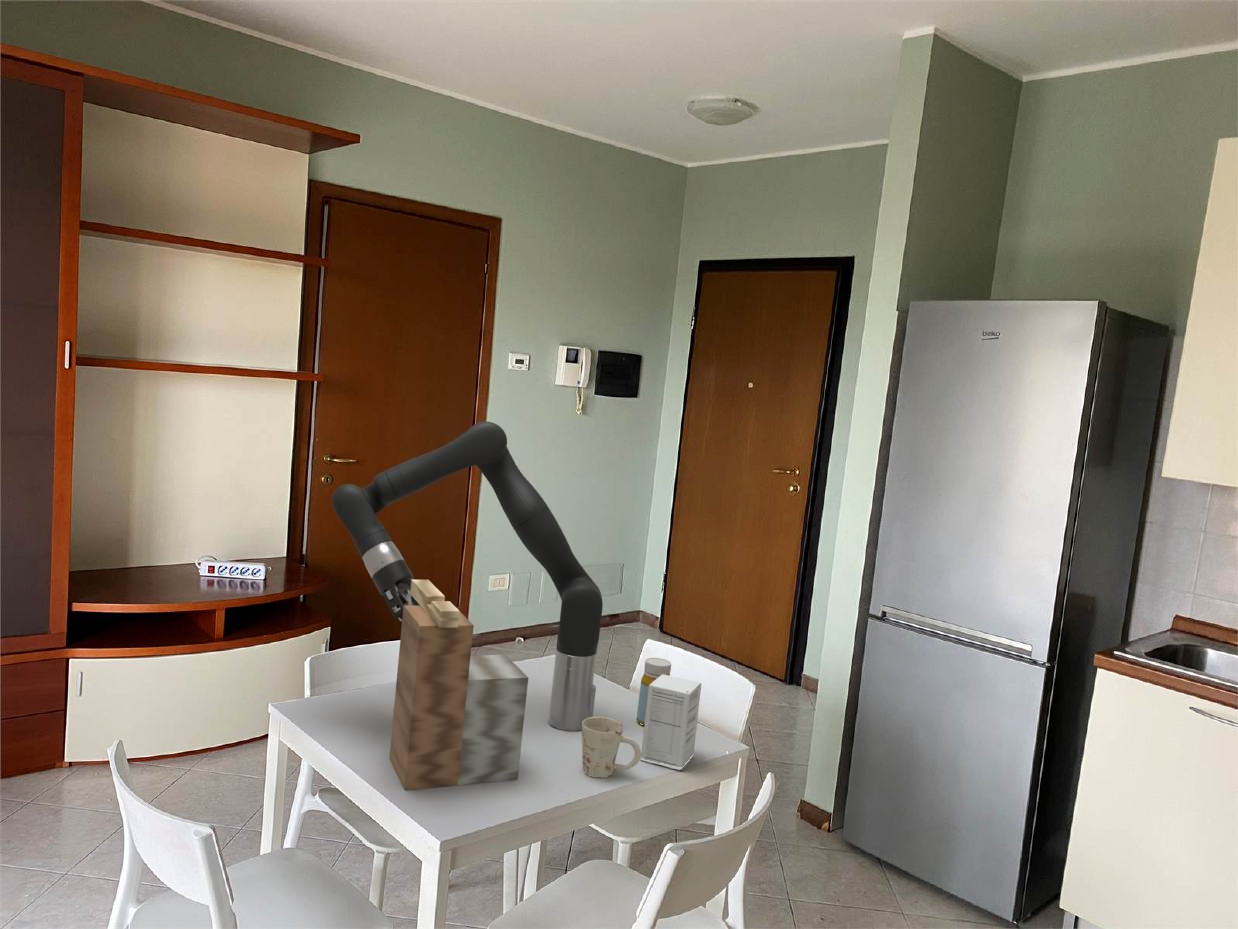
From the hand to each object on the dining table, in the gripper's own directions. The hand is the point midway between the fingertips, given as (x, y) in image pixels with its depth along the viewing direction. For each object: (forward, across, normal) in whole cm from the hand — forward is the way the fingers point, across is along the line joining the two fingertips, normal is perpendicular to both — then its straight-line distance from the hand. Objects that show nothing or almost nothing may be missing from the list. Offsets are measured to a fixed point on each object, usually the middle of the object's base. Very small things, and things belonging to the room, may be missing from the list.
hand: (424, 634), depth 186 cm
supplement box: (+48, +22, -25) cm, 58 cm away
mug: (+43, +9, -16) cm, 47 cm away
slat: (-1, -10, -8) cm, 13 cm away
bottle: (+40, +40, -23) cm, 61 cm away
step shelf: (+26, -3, +7) cm, 27 cm away
